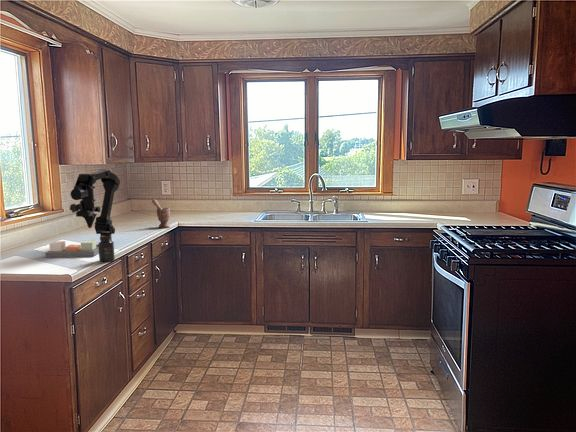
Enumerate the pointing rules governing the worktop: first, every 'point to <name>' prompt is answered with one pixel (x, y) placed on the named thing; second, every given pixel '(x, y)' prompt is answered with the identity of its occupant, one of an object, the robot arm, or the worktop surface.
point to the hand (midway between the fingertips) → (89, 227)
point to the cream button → (57, 246)
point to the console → (72, 253)
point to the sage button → (88, 245)
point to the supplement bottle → (106, 249)
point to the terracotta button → (73, 247)
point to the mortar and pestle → (162, 215)
